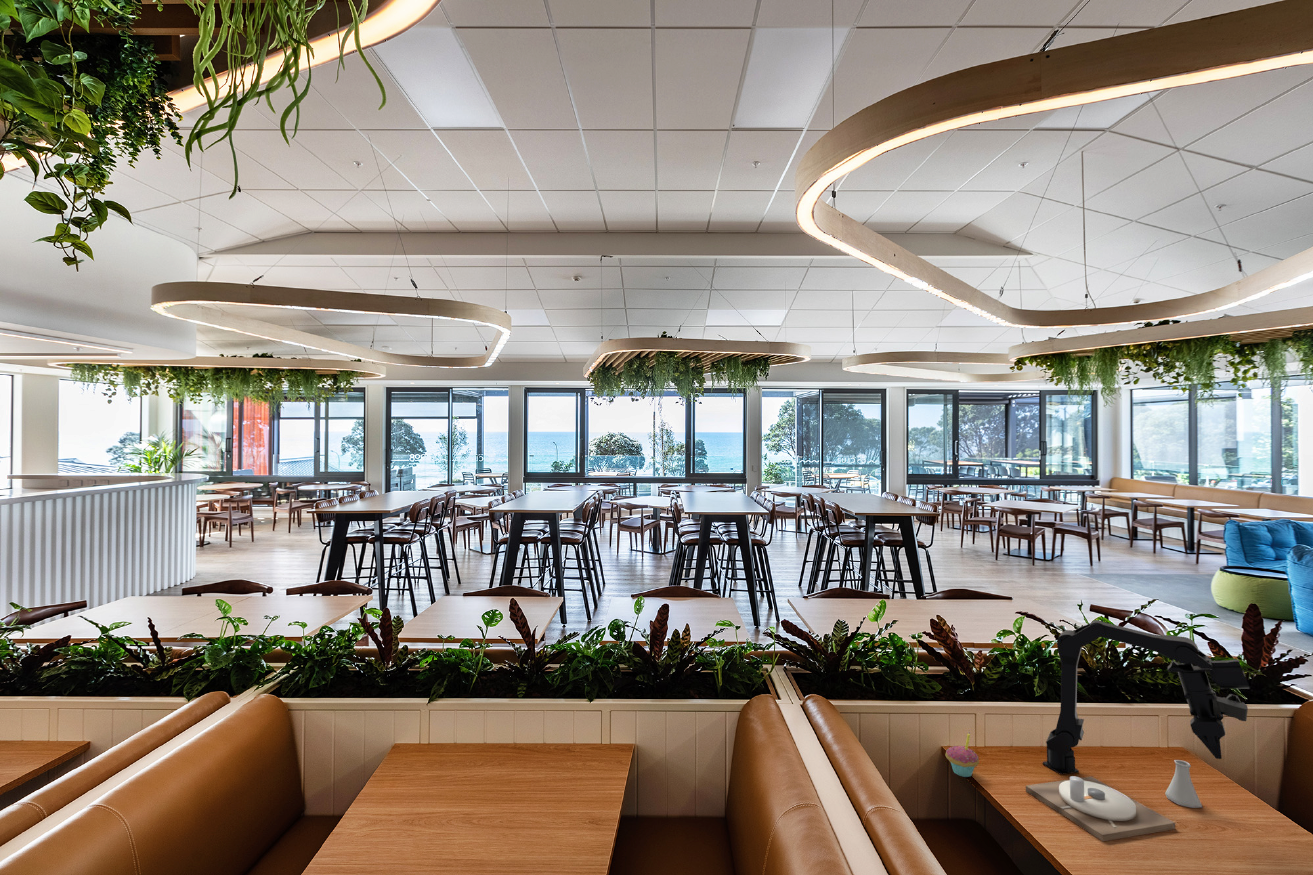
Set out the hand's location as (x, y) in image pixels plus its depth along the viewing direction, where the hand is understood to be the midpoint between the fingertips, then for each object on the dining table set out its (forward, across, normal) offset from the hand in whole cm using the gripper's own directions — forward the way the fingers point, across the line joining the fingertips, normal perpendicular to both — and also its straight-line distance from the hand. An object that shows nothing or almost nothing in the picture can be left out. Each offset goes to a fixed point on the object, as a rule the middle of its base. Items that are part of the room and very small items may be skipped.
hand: (1218, 751), depth 154 cm
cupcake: (+2, -23, +57) cm, 61 cm away
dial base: (+9, -19, +27) cm, 34 cm away
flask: (+13, +1, +10) cm, 17 cm away
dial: (+7, -19, +26) cm, 33 cm away
